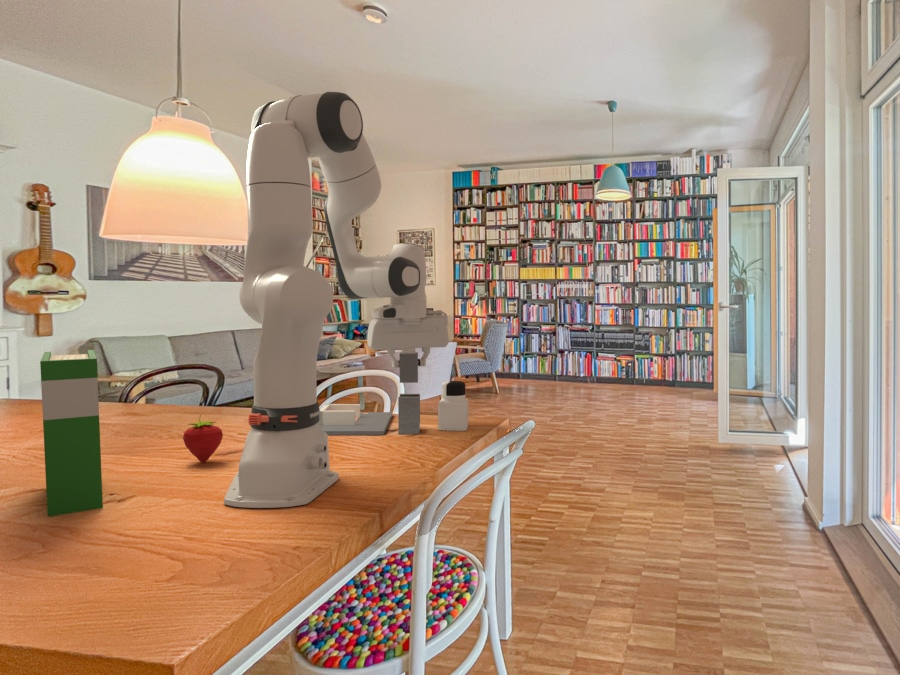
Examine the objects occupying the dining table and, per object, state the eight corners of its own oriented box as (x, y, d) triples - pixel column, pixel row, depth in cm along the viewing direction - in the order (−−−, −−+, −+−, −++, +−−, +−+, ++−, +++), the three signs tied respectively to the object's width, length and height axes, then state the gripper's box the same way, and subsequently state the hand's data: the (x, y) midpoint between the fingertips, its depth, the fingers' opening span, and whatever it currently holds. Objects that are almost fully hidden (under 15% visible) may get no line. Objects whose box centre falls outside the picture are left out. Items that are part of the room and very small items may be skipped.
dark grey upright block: (418, 434, 150) (418, 397, 150) (398, 434, 150) (398, 397, 150) (420, 428, 156) (419, 393, 156) (400, 428, 156) (400, 393, 156)
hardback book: (50, 486, 110) (44, 351, 108) (98, 479, 114) (93, 349, 112) (47, 516, 95) (40, 361, 93) (102, 508, 99) (96, 358, 97)
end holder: (383, 435, 149) (383, 416, 149) (284, 435, 149) (284, 416, 149) (392, 415, 173) (392, 399, 173) (306, 415, 173) (306, 399, 173)
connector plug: (417, 382, 151) (417, 345, 150) (399, 382, 150) (399, 345, 150) (418, 380, 155) (417, 344, 154) (400, 380, 155) (400, 344, 154)
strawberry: (223, 464, 124) (222, 415, 123) (182, 467, 121) (180, 417, 121) (223, 457, 129) (222, 409, 129) (184, 460, 127) (183, 412, 126)
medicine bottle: (468, 425, 161) (468, 379, 160) (466, 431, 154) (466, 383, 153) (441, 424, 161) (441, 379, 160) (438, 430, 154) (437, 383, 153)
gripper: (442, 309, 158) (442, 363, 159) (365, 310, 150) (365, 367, 151) (452, 310, 153) (452, 366, 154) (372, 311, 144) (372, 370, 145)
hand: (408, 366), depth 152 cm, fingers closed on connector plug, 5 cm apart
